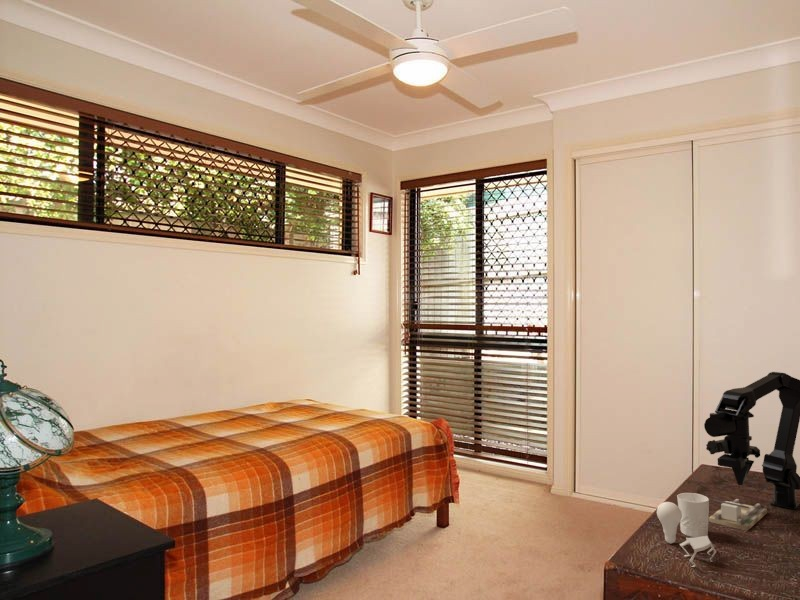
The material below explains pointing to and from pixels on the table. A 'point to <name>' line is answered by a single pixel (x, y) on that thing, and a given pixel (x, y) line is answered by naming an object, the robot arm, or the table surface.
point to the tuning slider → (730, 510)
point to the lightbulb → (669, 519)
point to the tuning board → (745, 521)
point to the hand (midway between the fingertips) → (740, 484)
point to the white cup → (694, 514)
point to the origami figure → (698, 546)
